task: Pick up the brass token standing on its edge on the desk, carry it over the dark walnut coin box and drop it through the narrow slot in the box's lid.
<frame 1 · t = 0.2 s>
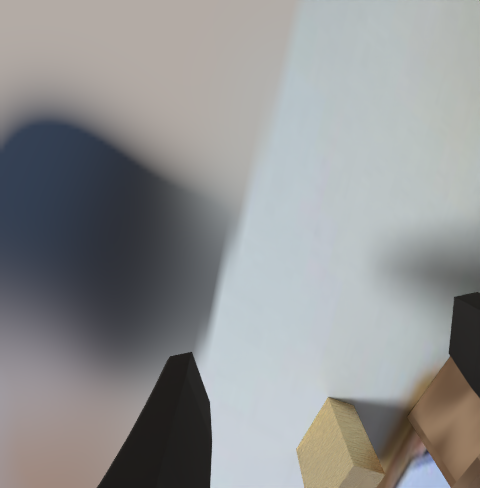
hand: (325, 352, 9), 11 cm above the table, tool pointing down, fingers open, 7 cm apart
brass token: (324, 427, 24), on the table
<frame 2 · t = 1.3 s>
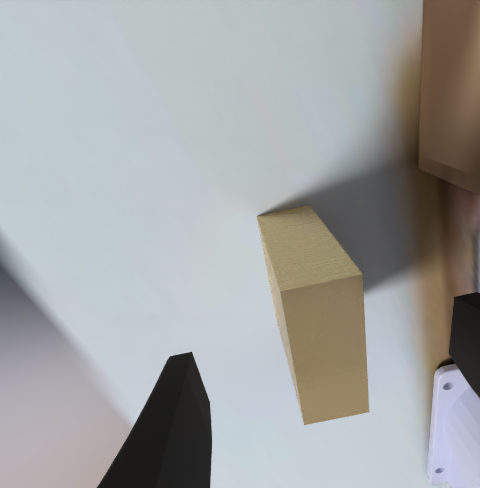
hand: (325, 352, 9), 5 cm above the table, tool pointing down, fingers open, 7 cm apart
brass token: (291, 267, 14), on the table
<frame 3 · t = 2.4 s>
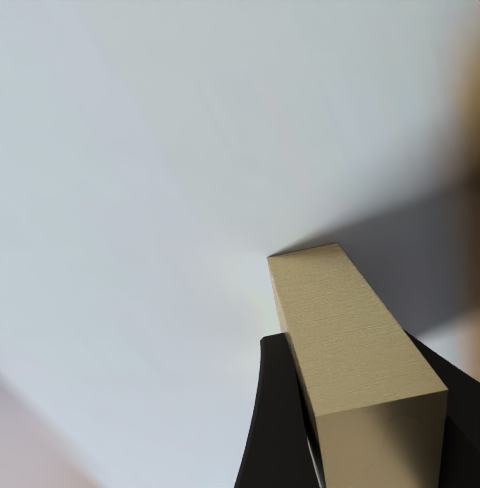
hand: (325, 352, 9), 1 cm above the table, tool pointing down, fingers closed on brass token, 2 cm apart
brass token: (311, 319, 11), on the table, touching gripper
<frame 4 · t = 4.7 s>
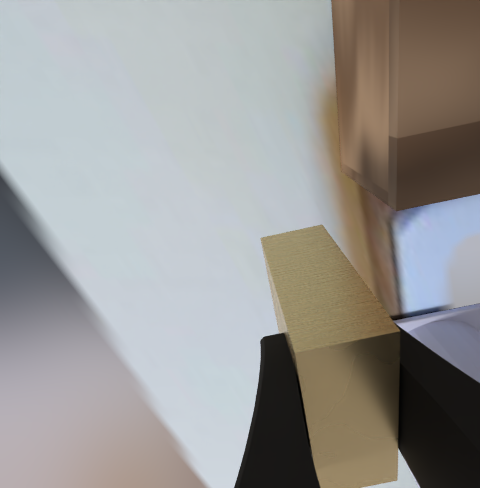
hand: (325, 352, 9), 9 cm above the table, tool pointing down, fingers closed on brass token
brass token: (300, 294, 12), point 7 cm above the table, touching gripper
walnut coin box: (451, 6, 14), on the table
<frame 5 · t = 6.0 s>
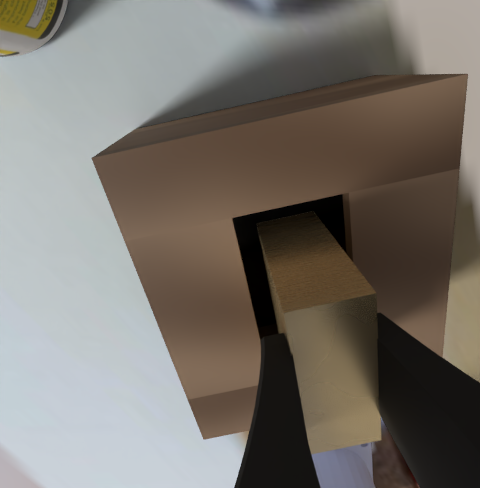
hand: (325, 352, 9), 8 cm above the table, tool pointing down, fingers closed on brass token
brass token: (294, 277, 13), point 4 cm above the table, touching gripper
walnut coin box: (276, 233, 17), on the table
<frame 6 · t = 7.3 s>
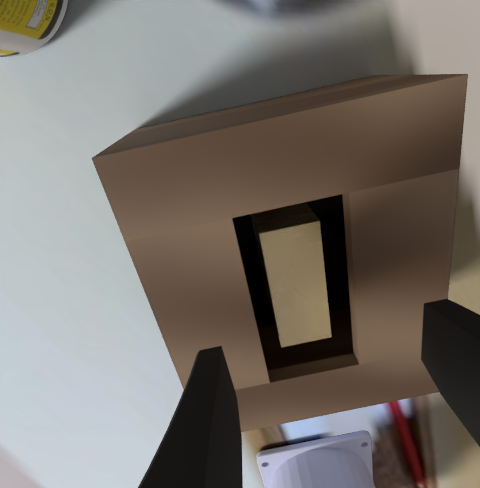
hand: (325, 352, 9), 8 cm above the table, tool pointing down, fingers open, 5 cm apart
brass token: (275, 232, 17), resting in walnut coin box
walnut coin box: (276, 233, 17), on the table
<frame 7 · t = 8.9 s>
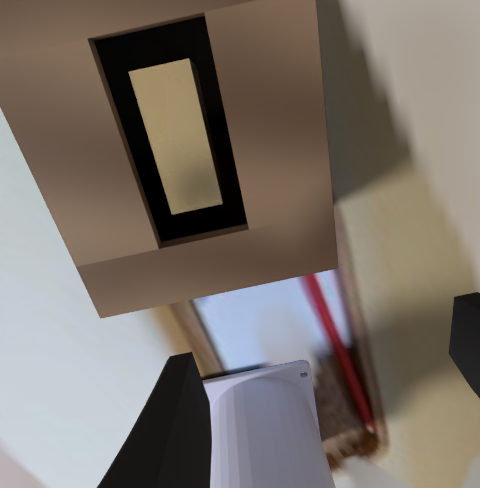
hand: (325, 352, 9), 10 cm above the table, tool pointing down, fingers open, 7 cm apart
brass token: (188, 127, 17), resting in walnut coin box
walnut coin box: (188, 127, 16), on the table
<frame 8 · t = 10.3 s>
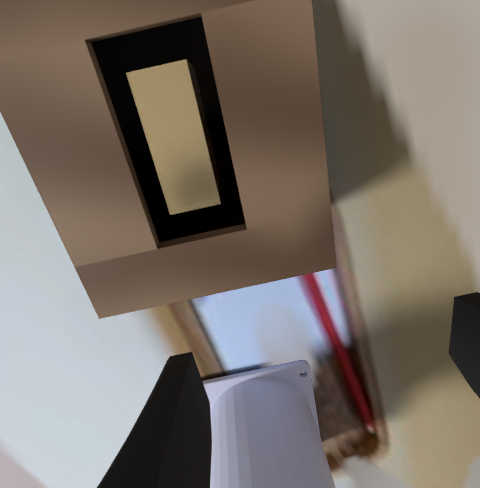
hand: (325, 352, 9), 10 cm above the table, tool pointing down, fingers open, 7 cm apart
brass token: (186, 128, 17), resting in walnut coin box
walnut coin box: (187, 128, 16), on the table
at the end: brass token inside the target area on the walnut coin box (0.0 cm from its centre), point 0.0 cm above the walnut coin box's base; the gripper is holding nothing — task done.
